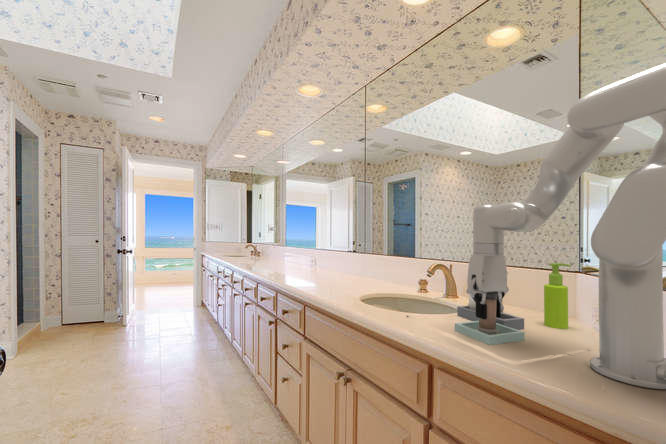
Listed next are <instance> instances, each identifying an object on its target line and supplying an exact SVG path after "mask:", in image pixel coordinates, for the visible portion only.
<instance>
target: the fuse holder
mask: <svg viewBox="0 0 666 444" xmlns="http://www.w3.org/2000/svg"><path fill="white" fill-rule="evenodd" d="M456 310H457V312H456V314H457V316H458V317H459V318H460V317H461V318H463V319H465V320H469V321H470V322H472V321H479V318H478V317H476V311H474V310H471V309H469V306H468V305H459V306H457V308H456ZM496 323H498V324H501V325H504V326H507V327H510V328H513V329H516V330H519V331H522V330H525V318H523V317H519V316H516V315H513V314H510V313H505V312H501V317H500V318H496Z"/></svg>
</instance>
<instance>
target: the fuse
mask: <svg viewBox="0 0 666 444" xmlns="http://www.w3.org/2000/svg"><path fill="white" fill-rule="evenodd" d="M468 304H469V309H471V310H474V311H476V302H474V299H473V298H472V297H471V296H470V295H469V294H468Z"/></svg>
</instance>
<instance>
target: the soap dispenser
mask: <svg viewBox="0 0 666 444" xmlns="http://www.w3.org/2000/svg"><path fill="white" fill-rule="evenodd" d="M548 266H551V270H552V271H551V272H550V273H549V274H548V283H546V284H544V285H543V306H544V309H543V311H544V312H543V315H544V316H543V319H544V323H543V325H544V326H545V327H548V328H552V329H557V330H558V329H559V330H567V329H569V289H568V286H565V285H564V282H563V274H561V273H560V267H561V266H562V267H563V266H564V267H570V268H571V267H572V265H571V264H567V263H561V262H560V263H559V262H550V263H549V262H548Z"/></svg>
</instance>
